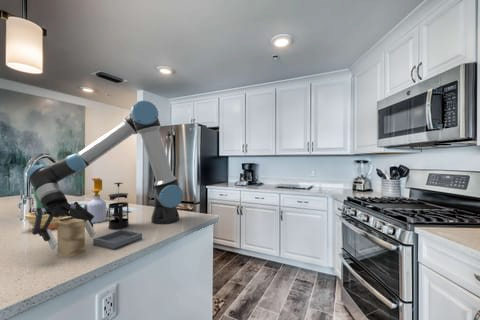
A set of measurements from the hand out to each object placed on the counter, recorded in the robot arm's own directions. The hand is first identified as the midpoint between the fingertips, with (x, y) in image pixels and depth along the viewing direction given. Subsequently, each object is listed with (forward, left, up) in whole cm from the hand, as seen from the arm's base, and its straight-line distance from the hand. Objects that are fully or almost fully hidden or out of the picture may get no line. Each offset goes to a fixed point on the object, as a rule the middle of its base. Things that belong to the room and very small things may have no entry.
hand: (75, 240), depth 82 cm
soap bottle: (-13, -47, -5) cm, 49 cm away
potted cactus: (+9, -50, -5) cm, 51 cm away
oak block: (+1, -2, -5) cm, 6 cm away
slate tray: (-15, -3, -5) cm, 16 cm away
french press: (-20, -27, -5) cm, 34 cm away
